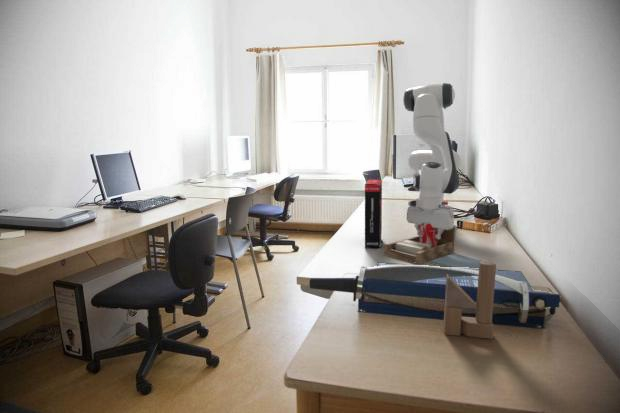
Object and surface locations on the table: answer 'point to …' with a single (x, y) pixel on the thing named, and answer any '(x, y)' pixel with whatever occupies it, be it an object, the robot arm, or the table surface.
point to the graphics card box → (373, 213)
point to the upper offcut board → (412, 246)
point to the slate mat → (457, 261)
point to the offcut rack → (441, 249)
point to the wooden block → (471, 305)
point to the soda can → (428, 234)
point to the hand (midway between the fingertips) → (428, 236)
